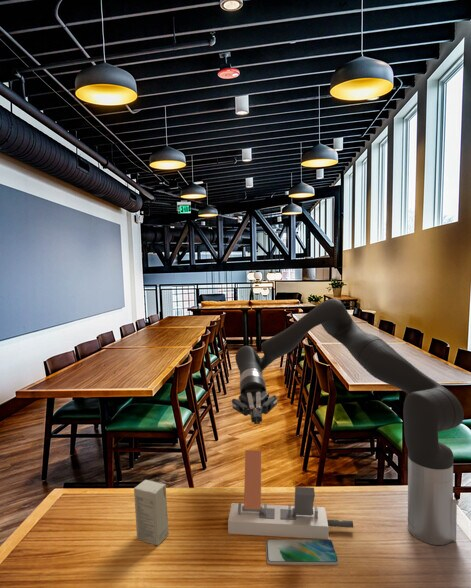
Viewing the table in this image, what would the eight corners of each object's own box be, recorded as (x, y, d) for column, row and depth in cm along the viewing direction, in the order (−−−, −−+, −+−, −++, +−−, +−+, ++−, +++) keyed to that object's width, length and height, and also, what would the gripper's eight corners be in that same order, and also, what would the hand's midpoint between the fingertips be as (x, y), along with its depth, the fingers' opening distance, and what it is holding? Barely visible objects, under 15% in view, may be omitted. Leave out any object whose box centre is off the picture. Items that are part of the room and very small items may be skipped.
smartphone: (265, 538, 87) (331, 539, 86) (265, 542, 87) (332, 542, 86) (266, 562, 79) (339, 562, 79) (266, 566, 79) (339, 566, 79)
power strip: (349, 520, 93) (349, 501, 92) (355, 540, 86) (355, 520, 85) (231, 514, 96) (231, 496, 96) (228, 533, 89) (227, 513, 89)
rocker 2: (312, 509, 91) (315, 487, 82) (313, 516, 90) (316, 495, 80) (292, 508, 91) (293, 486, 82) (292, 515, 90) (293, 494, 81)
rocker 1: (262, 512, 92) (262, 451, 98) (262, 512, 90) (262, 450, 96) (242, 511, 92) (244, 450, 98) (242, 511, 91) (243, 450, 97)
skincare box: (169, 534, 89) (167, 484, 88) (158, 546, 85) (156, 494, 84) (147, 527, 92) (145, 478, 91) (135, 538, 88) (133, 487, 87)
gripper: (275, 395, 113) (283, 431, 97) (231, 399, 114) (231, 436, 97) (274, 372, 111) (282, 405, 95) (229, 376, 111) (229, 410, 95)
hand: (256, 421), depth 96 cm, fingers closed
